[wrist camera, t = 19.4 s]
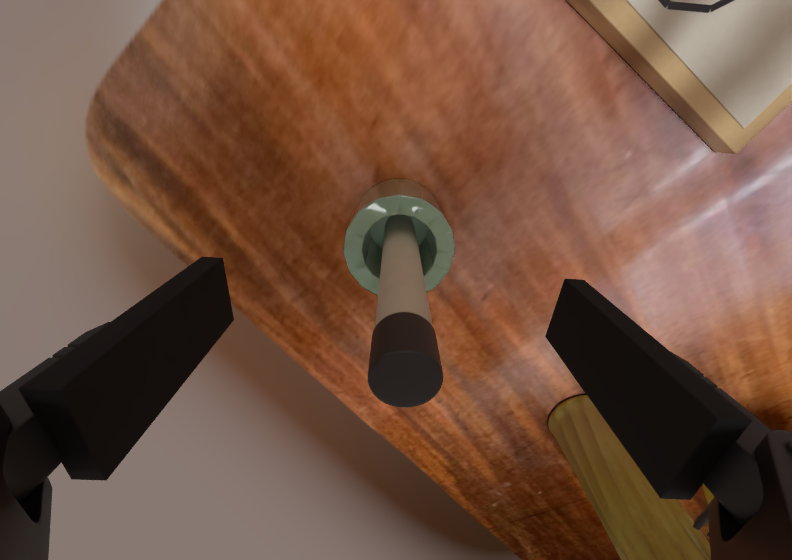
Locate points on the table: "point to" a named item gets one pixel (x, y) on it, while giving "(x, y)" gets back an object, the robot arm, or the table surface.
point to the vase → (623, 489)
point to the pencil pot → (370, 227)
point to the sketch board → (706, 59)
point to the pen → (403, 324)
